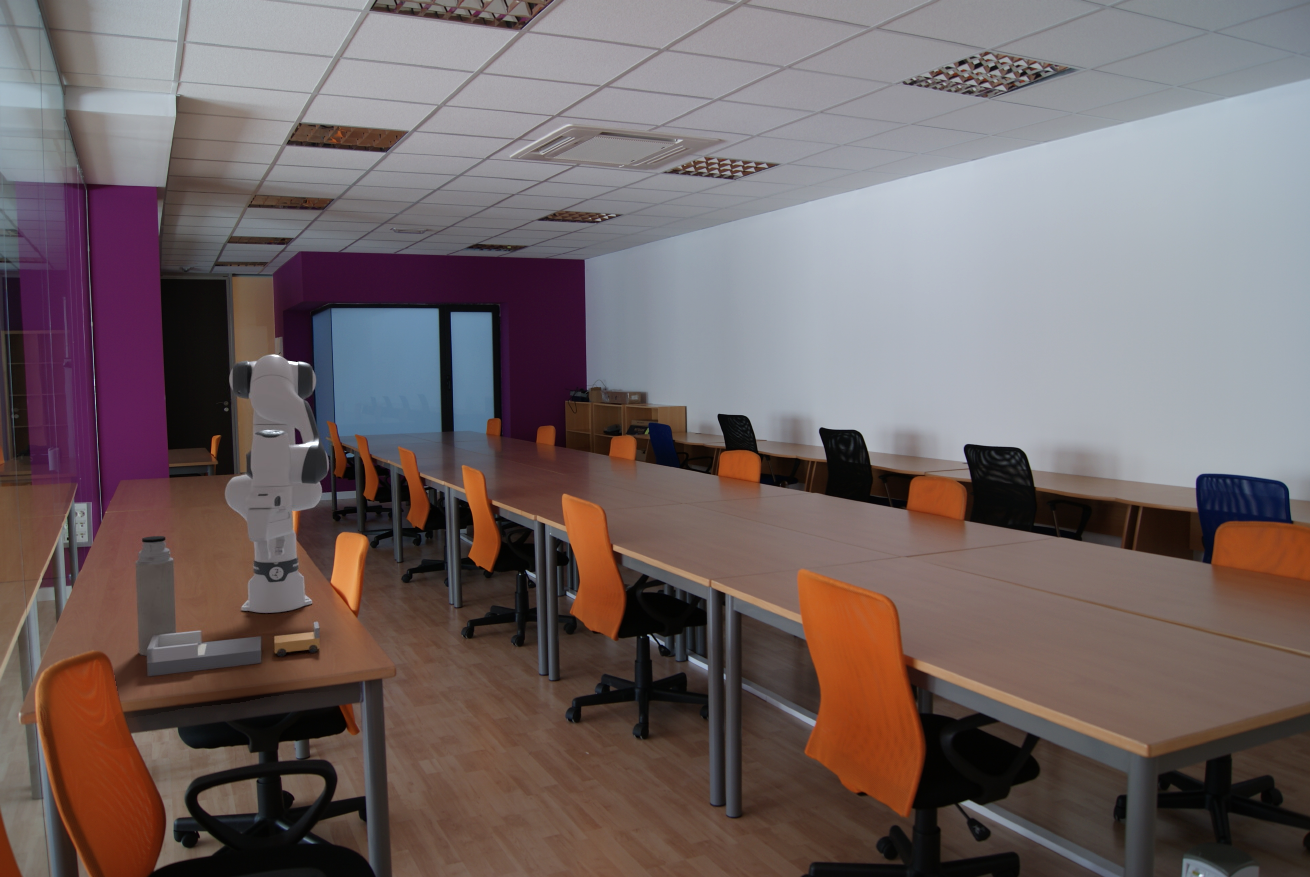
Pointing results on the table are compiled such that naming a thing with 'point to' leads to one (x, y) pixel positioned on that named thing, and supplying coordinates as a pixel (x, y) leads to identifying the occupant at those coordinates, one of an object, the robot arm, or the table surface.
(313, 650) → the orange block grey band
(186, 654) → the dock
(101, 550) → the table surface
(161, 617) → the thermos bottle
